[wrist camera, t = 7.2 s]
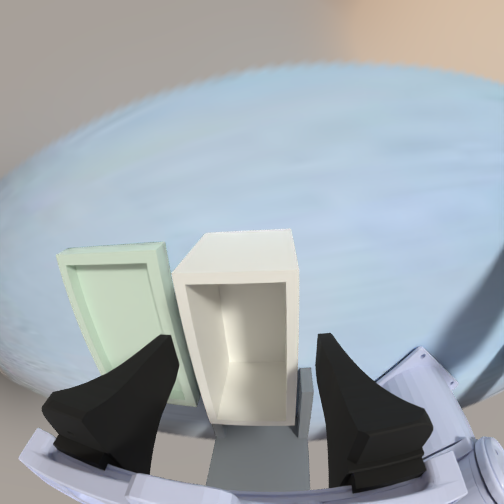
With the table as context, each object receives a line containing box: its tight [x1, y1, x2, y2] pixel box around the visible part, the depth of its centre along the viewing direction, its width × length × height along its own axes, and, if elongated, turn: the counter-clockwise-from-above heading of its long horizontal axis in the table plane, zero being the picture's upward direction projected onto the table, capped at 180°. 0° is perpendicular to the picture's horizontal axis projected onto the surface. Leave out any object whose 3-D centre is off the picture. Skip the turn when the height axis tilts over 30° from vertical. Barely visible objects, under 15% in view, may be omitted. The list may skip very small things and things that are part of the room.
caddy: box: [171, 229, 299, 426], centre depth 15 cm, size 10×5×6 cm, turn 4°
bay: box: [206, 368, 314, 492], centre depth 17 cm, size 7×8×8 cm
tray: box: [56, 242, 201, 407], centre depth 19 cm, size 14×9×2 cm, turn 4°
